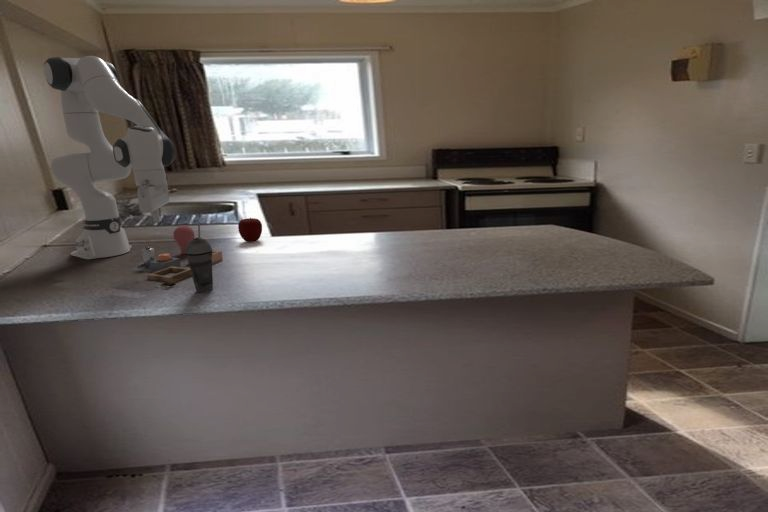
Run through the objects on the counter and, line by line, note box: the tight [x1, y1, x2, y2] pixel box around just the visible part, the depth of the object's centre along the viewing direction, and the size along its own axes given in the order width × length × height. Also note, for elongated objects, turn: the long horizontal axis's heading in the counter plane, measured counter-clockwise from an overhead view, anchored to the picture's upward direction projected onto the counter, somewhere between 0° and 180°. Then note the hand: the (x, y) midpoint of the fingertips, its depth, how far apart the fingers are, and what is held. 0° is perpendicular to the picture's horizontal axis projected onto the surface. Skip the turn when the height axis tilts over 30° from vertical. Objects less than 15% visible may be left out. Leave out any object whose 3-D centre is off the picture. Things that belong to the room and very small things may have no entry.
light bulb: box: [173, 225, 195, 255], centre depth 169 cm, size 7×7×12 cm
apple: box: [237, 217, 263, 243], centre depth 190 cm, size 10×10×10 cm
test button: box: [157, 252, 171, 262], centre depth 151 cm, size 4×4×2 cm
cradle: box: [130, 256, 186, 273], centre depth 153 cm, size 14×10×4 cm
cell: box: [141, 246, 157, 268], centre depth 154 cm, size 4×4×7 cm
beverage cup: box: [184, 222, 214, 294], centre depth 131 cm, size 7×7×20 cm
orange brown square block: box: [186, 250, 224, 266], centre depth 158 cm, size 8×8×4 cm
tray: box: [146, 266, 192, 287], centre depth 143 cm, size 9×9×3 cm
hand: (158, 221), depth 148 cm, fingers closed
